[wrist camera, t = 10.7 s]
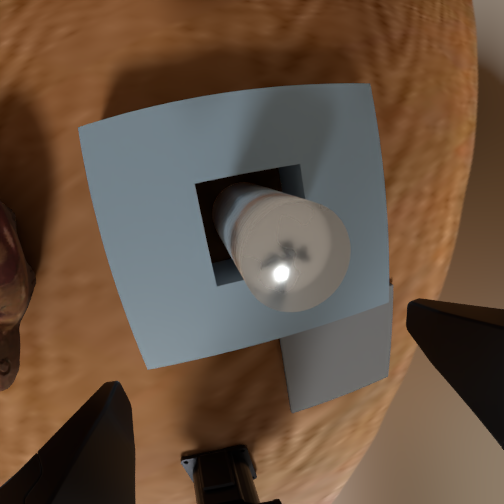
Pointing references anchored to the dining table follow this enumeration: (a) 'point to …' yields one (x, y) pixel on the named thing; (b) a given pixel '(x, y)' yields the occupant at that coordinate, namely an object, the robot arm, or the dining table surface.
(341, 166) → the blue peg hole block
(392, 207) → the dining table surface
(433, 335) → the robot arm
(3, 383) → the decorative turtle
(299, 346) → the rubber mat
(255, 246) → the steel pin
